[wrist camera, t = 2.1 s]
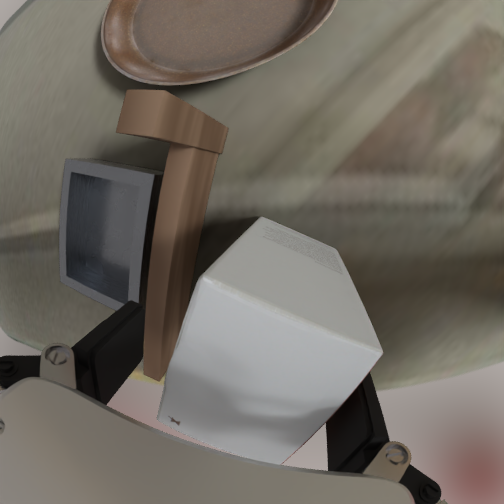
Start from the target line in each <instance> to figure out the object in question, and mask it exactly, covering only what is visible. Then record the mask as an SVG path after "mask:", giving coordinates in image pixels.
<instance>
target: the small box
mask: <svg viewBox="0 0 504 504" xmlns="http://www.w3.org/2000/svg"><path fill="white" fill-rule="evenodd" d="M382 355H383V351H382V348H381V345H380V343H379V340H378V338H377V336H376V333H375V331H374V328H373V326H372V324H371V321H370V319H369V317H368V314H367V312H366V310H365V307H364V305H363V303H362V301H361V299H360V297H359V294H358V292H357V290H356V288H355V286H354V284H353V282H352V279H351V277H350V275H349V273H348V271H347V269H346V267H345V265H344V263H343V261H342V259H341V257H340V255H339V253H338V251H337V249H335V248H333V247H331V246H328V245H326V244H324V243H322V242H319V241H317V240H315V239H313V238H310V237H308V236H306V235H304V234H301V233H299V232H297V231H295V230H292V229H290V228H288V227H285V226H283V225H281V224H279V223H276V222H274V221H272V220H269V219H267V218H264V217H259V218H258V219H257V220H256V221H255V223H254V224H253V225H252V226H250V227H249V228H248V229H247V230H246V231H245V232H244V233H243V234H242V235H241V236H240V237H239V238H238V239H237V240H236V241H235V242H234V243H233V244H232V245H231V246H230V247H229V248H228V249H227V250H226V251H225V252H224V253H223V254H222V255H221V256H220V257H219V258H218V259H217V260H216V261H215V262H214V263H213V264H212V265H211V266H210V267H209V268H208V269H207V270H206V271H205V272H204V273H203V274H202V275H201V276H200V277H199V279H198V281H197V283H196V286H195V289H194V292H193V294H192V297H191V300H190V303H189V306H188V309H187V312H186V315H185V318H184V321H183V324H182V327H181V330H180V333H179V336H178V339H177V343H176V346H175V349H174V352H173V355H172V358H171V360H170V363H169V366H168V369H167V373H166V377H165V382H164V390H163V394H162V398H161V402H160V407H159V411H158V415H157V420H158V421H160V422H162V423H163V424H165V425H167V426H169V427H171V428H173V429H175V430H177V431H178V432H181V433H183V434H185V435H187V436H189V437H192V438H194V439H196V440H199V441H201V442H203V443H206V444H208V445H211V446H214V447H216V448H219V449H222V450H224V451H228V452H230V453H233V454H237V455H240V456H243V457H246V458H249V459H253V460H258V461H262V462H267V463H273V464H278V465H281V464H283V463H284V462H285V461H286V460H287V459H288V458H289V457H291V455H293V454H294V453H295V452H296V451H297V450H298V449H299V448H300V447H302V445H304V444H305V443H306V442H307V441H308V440H309V439H310V438H311V437H312V436H313V435H314V434H315V433H316V432H317V431H318V430H319V429H320V428H321V427H322V426H323V425H324V424H325V423H326V422H327V421H328V420H329V419H330V418H331V417H332V415H333V414H334V413H335V412H336V411H337V410H338V409H339V408H340V407H341V405H342V404H343V403H344V402H345V401H346V400H347V399H348V397H349V396H350V395H351V394H352V393H353V392H354V390H355V389H356V388H357V387H358V386H359V384H360V383H361V382H362V381H363V379H364V378H365V377H366V376H367V374H368V373H369V372H370V371H371V369H372V368H373V367H374V365H375V364H376V363H377V361H378V360H379V359H380V357H381V356H382Z"/></svg>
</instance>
